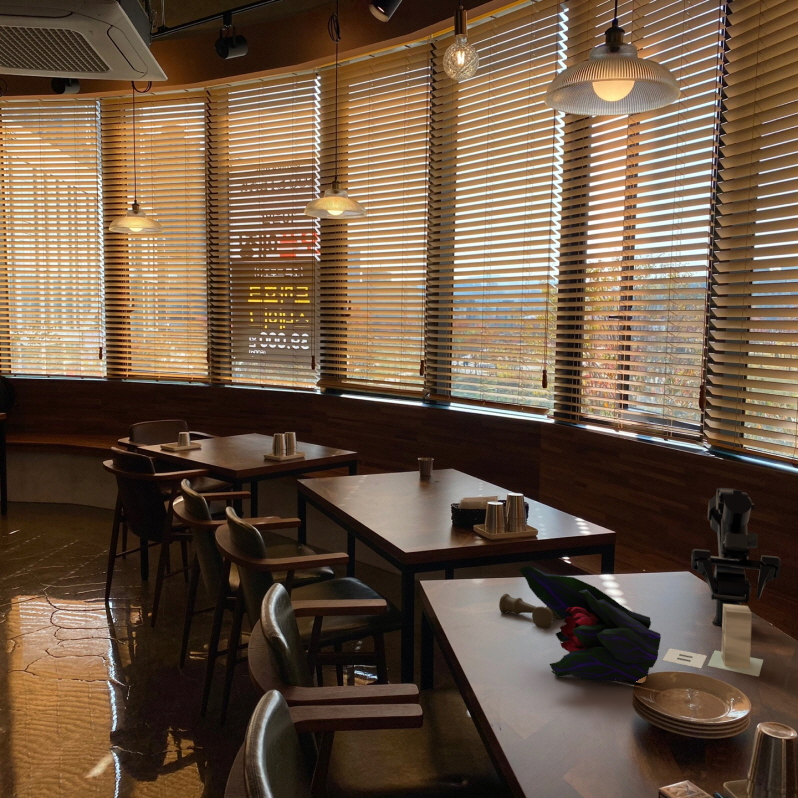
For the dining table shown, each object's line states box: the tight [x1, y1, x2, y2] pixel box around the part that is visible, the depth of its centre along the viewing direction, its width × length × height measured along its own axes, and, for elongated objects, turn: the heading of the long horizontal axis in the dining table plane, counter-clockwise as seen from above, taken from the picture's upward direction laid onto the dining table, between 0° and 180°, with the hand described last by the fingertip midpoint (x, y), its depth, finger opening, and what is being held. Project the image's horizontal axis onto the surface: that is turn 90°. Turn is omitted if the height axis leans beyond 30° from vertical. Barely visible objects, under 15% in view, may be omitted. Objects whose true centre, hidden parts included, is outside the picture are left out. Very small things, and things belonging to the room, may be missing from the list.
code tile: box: [662, 648, 708, 669], centre depth 166 cm, size 8×8×1 cm
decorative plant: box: [518, 565, 662, 684], centre depth 158 cm, size 21×26×30 cm
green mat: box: [707, 650, 764, 677], centre depth 163 cm, size 10×10×1 cm
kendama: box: [498, 593, 564, 630], centre depth 190 cm, size 6×10×20 cm
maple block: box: [721, 604, 753, 668], centre depth 163 cm, size 5×5×12 cm
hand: (735, 596), depth 169 cm, fingers open, 9 cm apart
